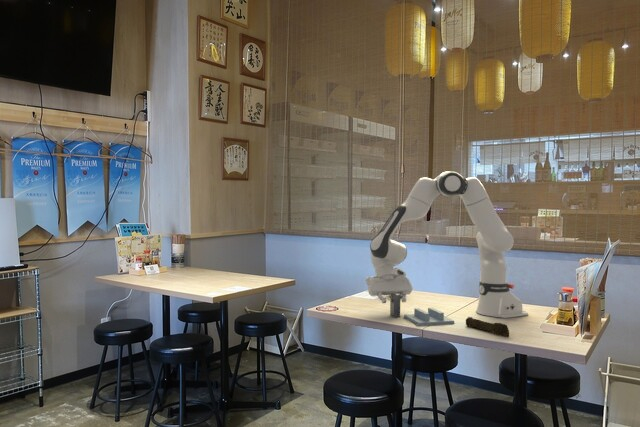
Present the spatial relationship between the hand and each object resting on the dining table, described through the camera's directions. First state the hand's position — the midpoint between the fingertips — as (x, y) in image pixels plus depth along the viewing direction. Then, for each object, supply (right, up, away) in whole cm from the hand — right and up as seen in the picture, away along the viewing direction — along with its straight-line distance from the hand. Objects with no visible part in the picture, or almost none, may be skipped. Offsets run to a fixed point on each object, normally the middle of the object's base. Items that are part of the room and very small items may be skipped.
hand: (394, 302), depth 209 cm
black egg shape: (+8, -5, +44) cm, 45 cm away
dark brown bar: (+33, -7, -23) cm, 41 cm away
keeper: (+13, -6, -7) cm, 17 cm away
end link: (0, -6, -1) cm, 6 cm away
